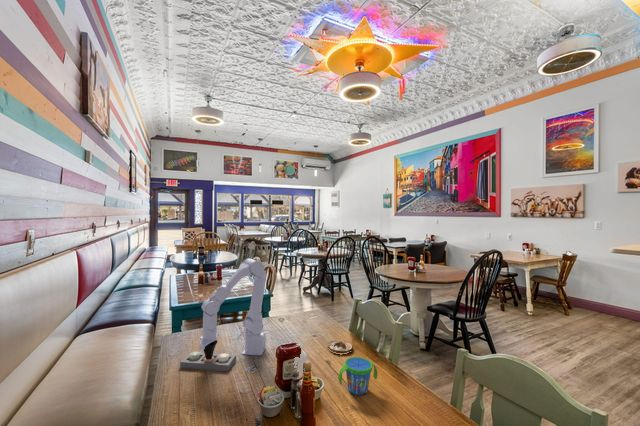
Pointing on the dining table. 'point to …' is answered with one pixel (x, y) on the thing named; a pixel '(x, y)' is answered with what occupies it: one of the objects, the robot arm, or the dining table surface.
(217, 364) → the button board
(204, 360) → the terracotta button
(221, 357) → the cream button
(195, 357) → the sage button
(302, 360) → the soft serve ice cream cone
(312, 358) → the dining table surface
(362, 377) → the snack cup
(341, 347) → the brown white round dish
